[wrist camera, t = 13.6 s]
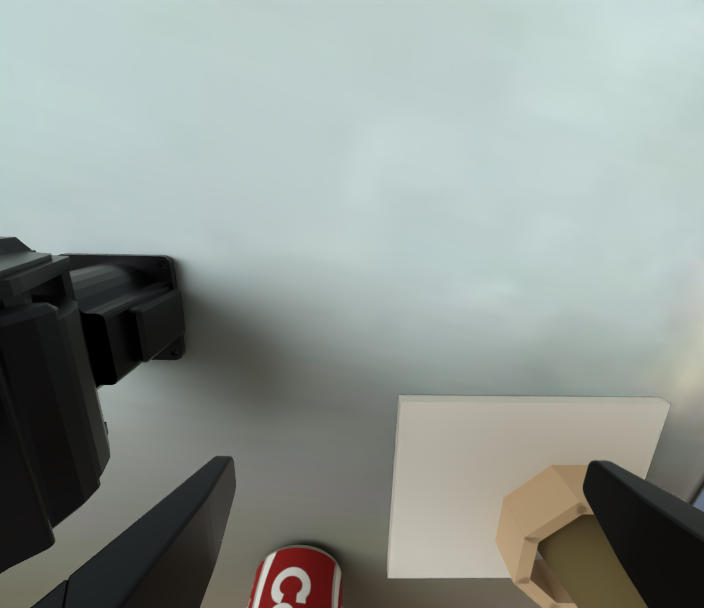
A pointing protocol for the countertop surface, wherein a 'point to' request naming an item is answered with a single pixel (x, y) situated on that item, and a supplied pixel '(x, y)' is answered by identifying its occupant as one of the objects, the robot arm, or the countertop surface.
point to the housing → (504, 480)
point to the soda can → (297, 579)
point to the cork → (588, 566)
